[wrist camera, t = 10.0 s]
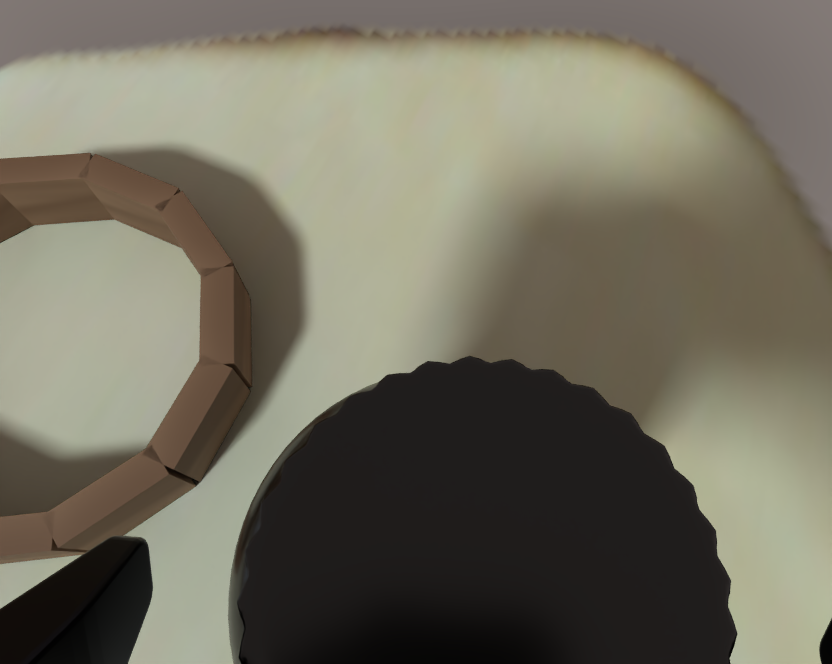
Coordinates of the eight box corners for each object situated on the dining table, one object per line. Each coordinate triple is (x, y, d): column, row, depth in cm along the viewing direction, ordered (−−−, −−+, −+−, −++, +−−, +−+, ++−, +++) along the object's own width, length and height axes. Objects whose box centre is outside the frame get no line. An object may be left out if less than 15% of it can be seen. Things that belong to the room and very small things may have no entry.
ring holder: (315, 275, 22) (306, 240, 19) (113, 635, 17) (71, 645, 15) (19, 152, 23) (-23, 105, 21) (-238, 455, 19) (-326, 439, 16)
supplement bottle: (487, 419, 19) (639, 194, 7) (592, 651, 16) (1035, 834, 5) (270, 505, 17) (56, 392, 6) (351, 769, 15) (248, 1333, 4)
